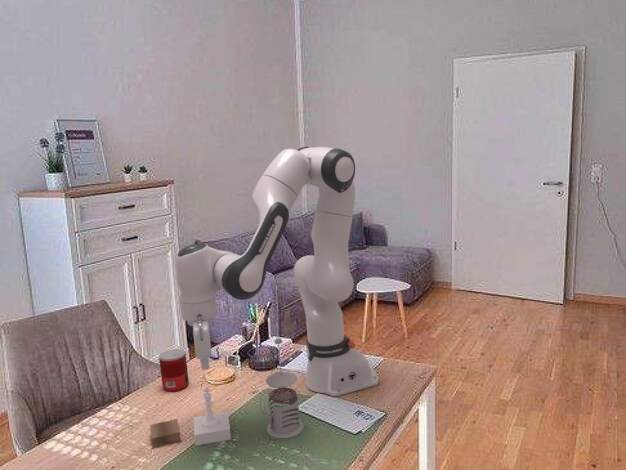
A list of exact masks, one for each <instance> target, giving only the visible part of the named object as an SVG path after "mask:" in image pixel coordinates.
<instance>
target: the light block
mask: <svg viewBox="0 0 626 470" xmlns="http://www.w3.org/2000/svg"><path fill="white" fill-rule="evenodd" d="M228 412H229V411H221V412H216V413H212V414H213V415H214V416H217V417H219V420H220V423H219V424H218V425H217V426H215V427H212V428H204V427H202V426H201V420H202V419H203V418H205V417H206V415H207V414H205V415H199V416H193V437H194V439H193V440H194V444H195V446H196V447H198V446H202V445H203V444H204V445H209V444H214V443H220V442H225V441H230V440H232V437H231V426H230V421H229V420H230V419H229V413H228Z"/></svg>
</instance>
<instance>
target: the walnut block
mask: <svg viewBox="0 0 626 470" xmlns="http://www.w3.org/2000/svg"><path fill="white" fill-rule="evenodd" d="M179 426H180V425H179V421H178V418H175V419H170V420H166V421H162V422H157V423H152V424H149V427H150V429H149V430H150V439H151V440H150V441H151V446H152V449H155V448H159V447H163V446H167V445H171V444H175V443H181V441H182V440H181V434H180V433H181V432H180V427H179Z"/></svg>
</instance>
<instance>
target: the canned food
mask: <svg viewBox="0 0 626 470" xmlns="http://www.w3.org/2000/svg"><path fill="white" fill-rule="evenodd" d="M158 358H159V359H158V360H159V368H160V375H161V382H162V389H163V390H164V391H166V392H168V393H169V392H170V393H172V392H173V393H174V392H180V391H183V390H184V389H186V388H187V387H188V386H189V381H190V380H189V373H188V371H189V370H188V363H187V355H186V351H185V350H184V349H180V348H173V349H167V350H165V351H162V352H161V353H159V355H158Z"/></svg>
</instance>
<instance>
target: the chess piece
mask: <svg viewBox="0 0 626 470" xmlns="http://www.w3.org/2000/svg"><path fill="white" fill-rule="evenodd" d="M203 392H204V394H203V395H202V396H203V398H204V401H205V402H204V403H203V405H204V406H206V414H205V415H206V417H205V418H203V419H202V420H201V426H202V427H204V428H212V427H215V426H217V425H218V424H219V423H220V420H219V417H217V416H214V415H213V414H214V413H213V411H212V405H213V401H212V400H211V398H212V393H211V389H209V388H208V386H205V389H203Z"/></svg>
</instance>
